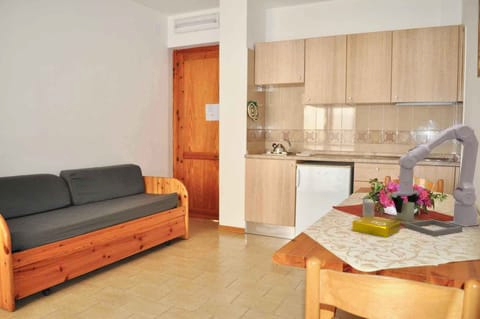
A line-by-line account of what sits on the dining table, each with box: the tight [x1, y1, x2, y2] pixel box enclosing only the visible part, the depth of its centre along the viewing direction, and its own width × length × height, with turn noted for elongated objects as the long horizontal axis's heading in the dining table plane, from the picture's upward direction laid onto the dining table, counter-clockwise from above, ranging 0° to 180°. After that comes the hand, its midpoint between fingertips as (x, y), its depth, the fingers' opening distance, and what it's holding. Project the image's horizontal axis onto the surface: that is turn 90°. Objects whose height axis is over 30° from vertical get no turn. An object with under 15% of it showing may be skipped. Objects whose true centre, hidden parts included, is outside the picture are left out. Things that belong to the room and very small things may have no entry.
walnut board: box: [383, 215, 425, 227], centre depth 176 cm, size 14×12×1 cm
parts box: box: [396, 200, 415, 221], centre depth 175 cm, size 4×6×8 cm, turn 25°
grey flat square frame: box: [404, 218, 464, 237], centre depth 162 cm, size 17×14×2 cm
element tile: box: [351, 216, 401, 238], centre depth 160 cm, size 15×15×5 cm
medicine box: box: [361, 198, 375, 218], centre depth 179 cm, size 8×4×9 cm, turn 168°
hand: (404, 211), depth 175 cm, fingers open, 7 cm apart
